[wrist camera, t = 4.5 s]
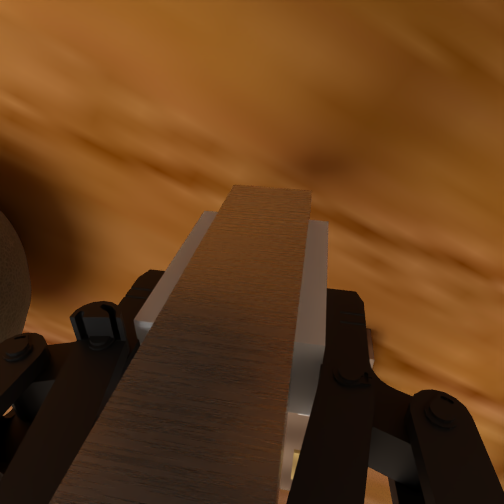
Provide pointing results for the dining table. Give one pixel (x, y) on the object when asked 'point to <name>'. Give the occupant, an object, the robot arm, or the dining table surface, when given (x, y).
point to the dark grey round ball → (12, 282)
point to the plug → (208, 371)
